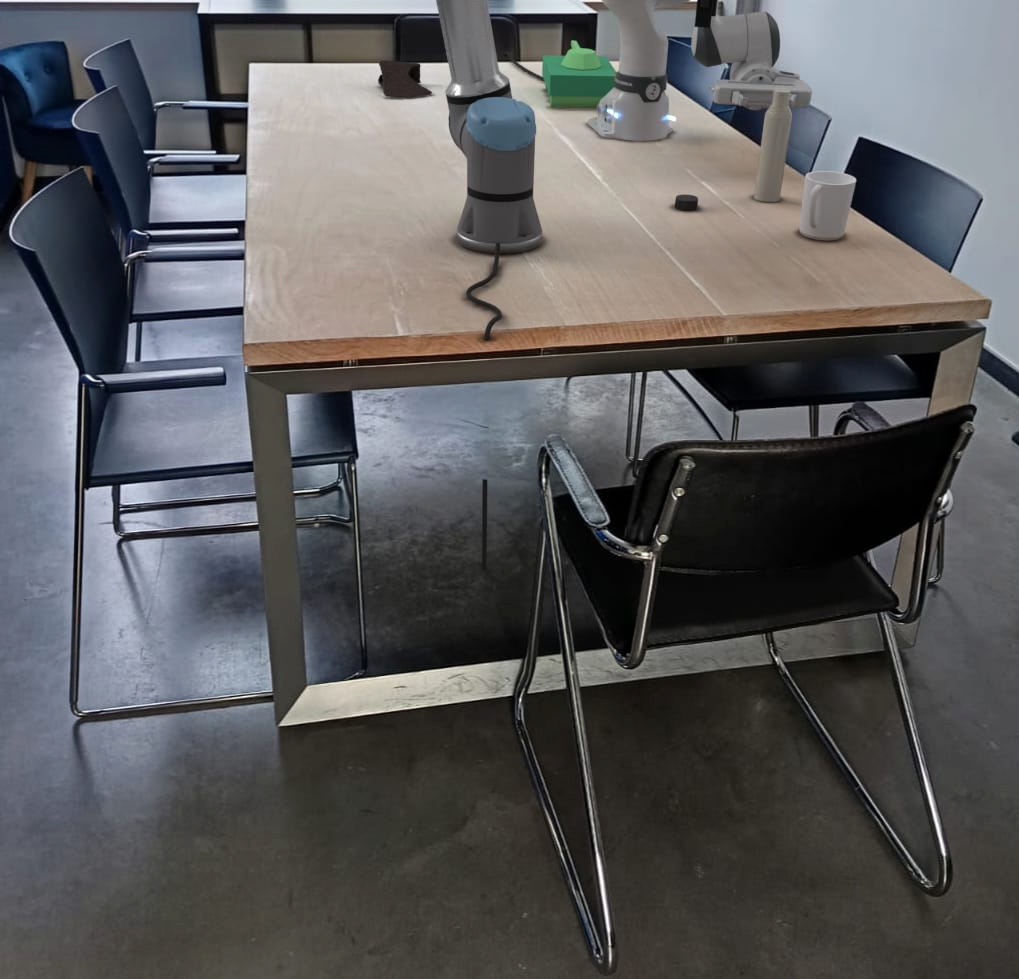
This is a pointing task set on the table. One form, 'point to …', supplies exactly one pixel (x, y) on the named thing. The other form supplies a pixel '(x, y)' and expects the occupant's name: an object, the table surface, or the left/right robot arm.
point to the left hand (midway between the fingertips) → (705, 21)
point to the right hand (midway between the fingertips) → (766, 103)
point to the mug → (826, 204)
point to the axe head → (401, 79)
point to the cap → (686, 202)
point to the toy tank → (577, 77)
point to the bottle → (773, 148)
